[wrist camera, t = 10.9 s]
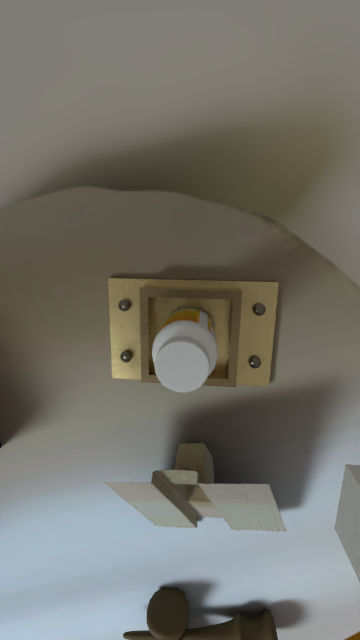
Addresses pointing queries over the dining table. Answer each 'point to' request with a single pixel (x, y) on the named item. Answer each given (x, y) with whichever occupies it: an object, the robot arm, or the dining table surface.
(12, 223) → the dining table surface
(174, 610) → the kendama
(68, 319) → the dining table surface
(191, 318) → the supplement bottle
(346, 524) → the robot arm
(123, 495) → the grey tablet stand
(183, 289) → the wooden holder tray
